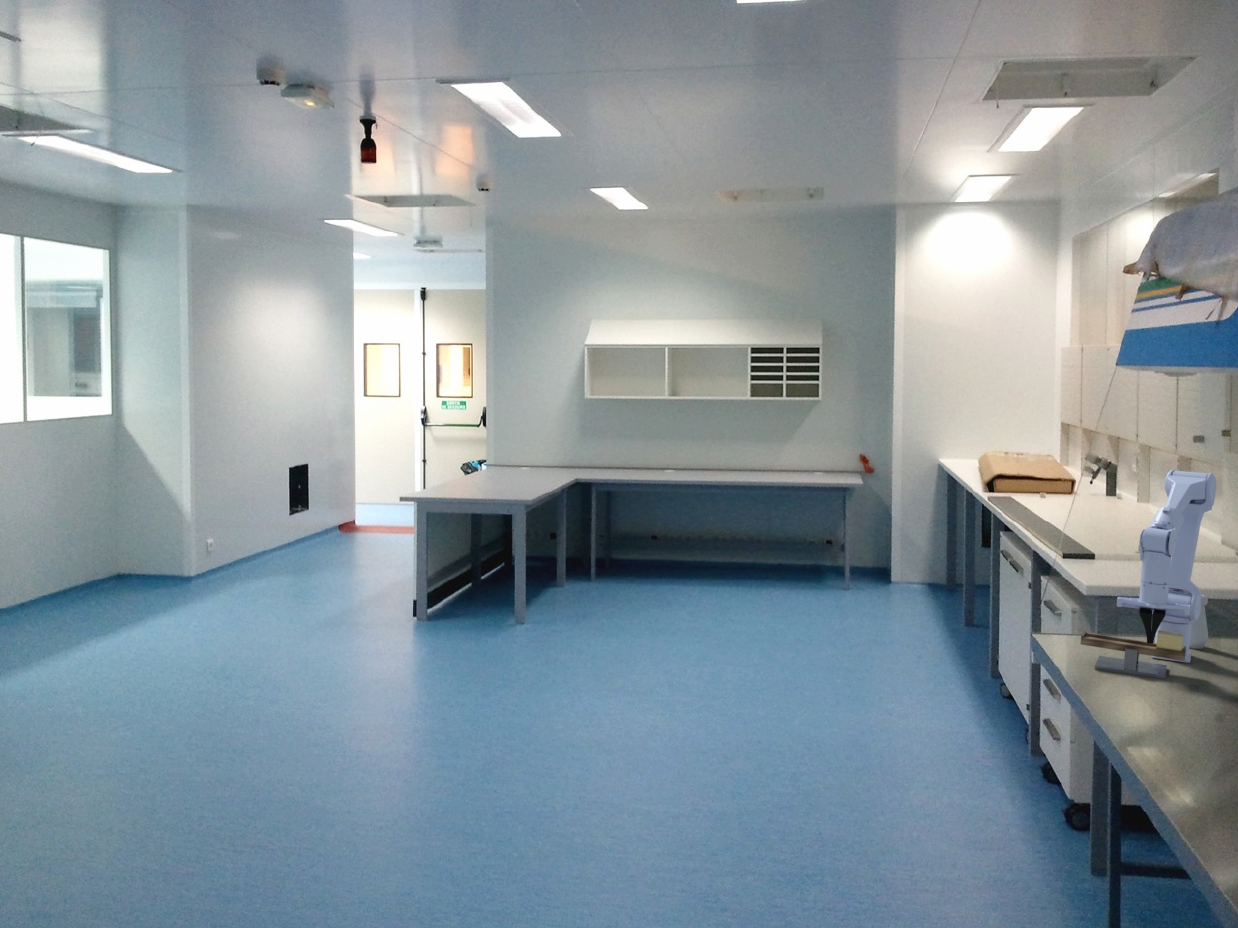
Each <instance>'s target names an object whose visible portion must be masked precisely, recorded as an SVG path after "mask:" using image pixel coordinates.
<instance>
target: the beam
mask: <svg viewBox="0 0 1238 928" xmlns="http://www.w3.org/2000/svg"><path fill="white" fill-rule="evenodd" d="M1079 644H1080V645H1081V646H1089V647H1095V648H1101V649H1105V650H1106V649H1107V650H1113V651H1119V652H1125V648H1129V649H1136V650H1137V654H1139V655H1145V656H1151V657H1152V656H1156V657H1162V658H1168V659H1174V660H1181V661H1185V654H1186V646H1184V648H1183V647H1182V653H1181V652H1175V651H1169V650H1162V649H1156V645H1157V643H1155V642H1154V643H1153V644H1152V643H1147V641H1144V640H1136V639H1129V638H1125V637H1124V638H1123V637H1117V636H1110V635H1104V634H1099V633H1092V632H1087V630H1083V632H1082V634H1081V635H1080V643H1079Z"/></svg>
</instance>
